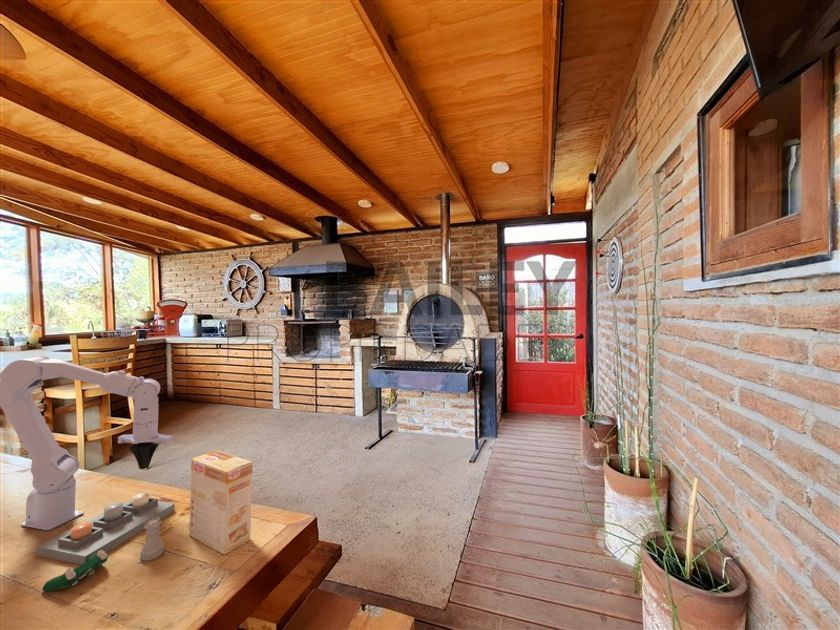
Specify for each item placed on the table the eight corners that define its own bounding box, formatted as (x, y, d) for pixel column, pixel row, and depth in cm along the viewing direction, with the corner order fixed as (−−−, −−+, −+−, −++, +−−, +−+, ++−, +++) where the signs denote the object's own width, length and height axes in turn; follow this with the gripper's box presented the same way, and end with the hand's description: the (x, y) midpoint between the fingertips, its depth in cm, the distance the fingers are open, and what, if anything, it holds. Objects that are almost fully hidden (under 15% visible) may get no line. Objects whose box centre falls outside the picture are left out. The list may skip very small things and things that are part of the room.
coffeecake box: (251, 539, 85) (253, 461, 86) (223, 556, 79) (226, 472, 79) (215, 521, 93) (218, 449, 93) (187, 535, 86) (190, 458, 86)
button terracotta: (66, 543, 79) (66, 530, 79) (84, 533, 83) (84, 521, 83) (78, 545, 78) (78, 532, 78) (95, 535, 82) (96, 523, 82)
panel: (36, 555, 78) (36, 539, 78) (134, 504, 99) (134, 492, 99) (84, 565, 75) (85, 549, 75) (174, 510, 97) (174, 498, 97)
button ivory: (128, 509, 93) (128, 498, 93) (141, 503, 96) (141, 492, 96) (139, 511, 92) (139, 500, 92) (152, 504, 96) (152, 493, 96)
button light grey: (99, 521, 86) (100, 509, 86) (115, 513, 89) (115, 501, 89) (111, 523, 85) (111, 511, 85) (126, 515, 89) (126, 503, 89)
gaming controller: (48, 604, 67) (64, 587, 66) (38, 587, 68) (55, 570, 67) (101, 571, 76) (116, 555, 75) (92, 556, 77) (107, 541, 76)
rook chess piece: (168, 551, 80) (169, 517, 80) (148, 564, 76) (149, 528, 76) (155, 546, 82) (156, 513, 82) (134, 559, 78) (136, 523, 78)
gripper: (108, 425, 96) (107, 473, 96) (159, 426, 96) (158, 474, 96) (130, 417, 103) (128, 462, 103) (177, 419, 103) (176, 464, 103)
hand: (144, 467), depth 100 cm, fingers closed
